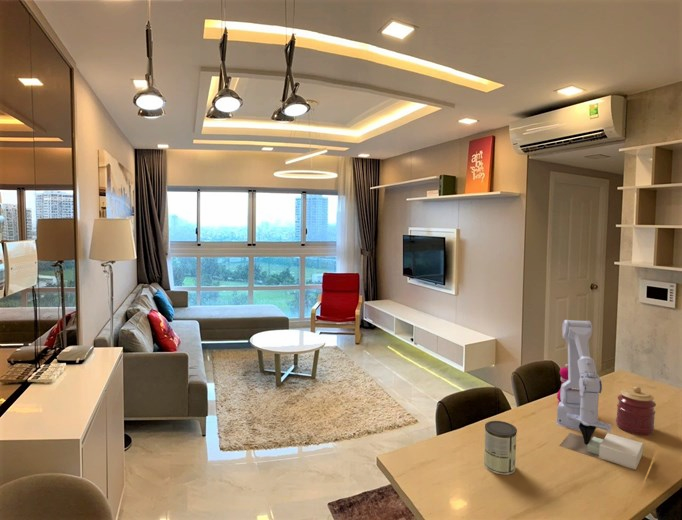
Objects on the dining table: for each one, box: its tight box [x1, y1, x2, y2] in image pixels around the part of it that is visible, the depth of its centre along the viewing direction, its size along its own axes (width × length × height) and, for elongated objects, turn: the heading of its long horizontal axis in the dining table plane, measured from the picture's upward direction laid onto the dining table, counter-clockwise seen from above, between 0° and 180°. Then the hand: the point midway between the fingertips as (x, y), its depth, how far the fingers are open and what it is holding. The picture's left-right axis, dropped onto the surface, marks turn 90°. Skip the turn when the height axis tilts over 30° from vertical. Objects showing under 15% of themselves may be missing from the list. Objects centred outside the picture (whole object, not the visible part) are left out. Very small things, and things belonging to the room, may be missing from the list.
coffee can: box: [483, 420, 518, 476], centre depth 150 cm, size 10×10×14 cm
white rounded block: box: [599, 432, 644, 471], centre depth 156 cm, size 11×12×5 cm
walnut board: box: [558, 432, 643, 472], centre depth 160 cm, size 24×14×1 cm, turn 47°
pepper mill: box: [556, 363, 573, 405], centre depth 198 cm, size 7×7×20 cm
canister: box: [615, 385, 657, 436], centre depth 177 cm, size 13×13×18 cm
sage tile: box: [587, 436, 604, 455], centre depth 159 cm, size 11×9×2 cm
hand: (587, 443), depth 163 cm, fingers closed
